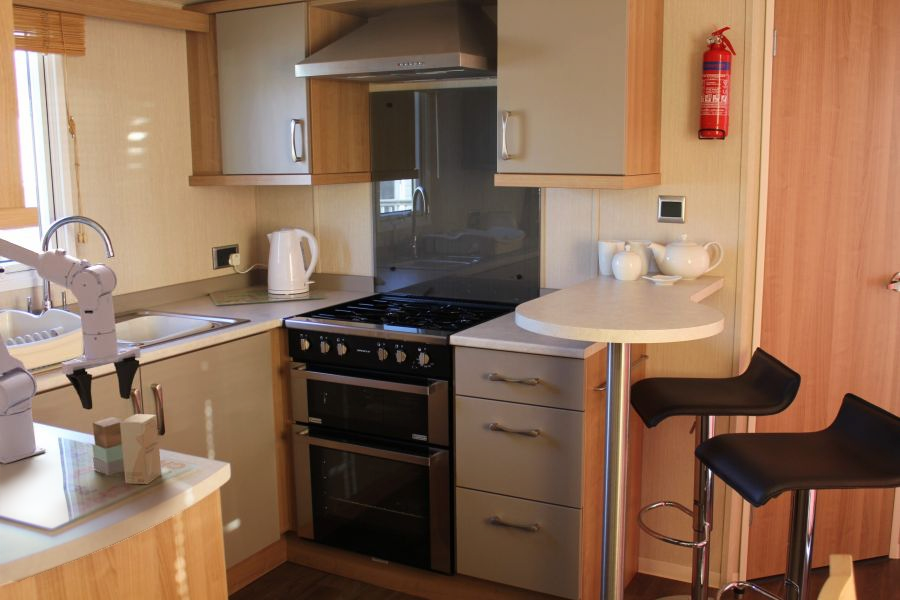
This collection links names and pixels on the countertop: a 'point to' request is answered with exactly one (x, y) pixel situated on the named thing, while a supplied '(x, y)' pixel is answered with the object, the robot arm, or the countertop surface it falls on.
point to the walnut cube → (107, 432)
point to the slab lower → (108, 466)
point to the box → (140, 448)
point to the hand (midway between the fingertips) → (106, 403)
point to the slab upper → (108, 453)
